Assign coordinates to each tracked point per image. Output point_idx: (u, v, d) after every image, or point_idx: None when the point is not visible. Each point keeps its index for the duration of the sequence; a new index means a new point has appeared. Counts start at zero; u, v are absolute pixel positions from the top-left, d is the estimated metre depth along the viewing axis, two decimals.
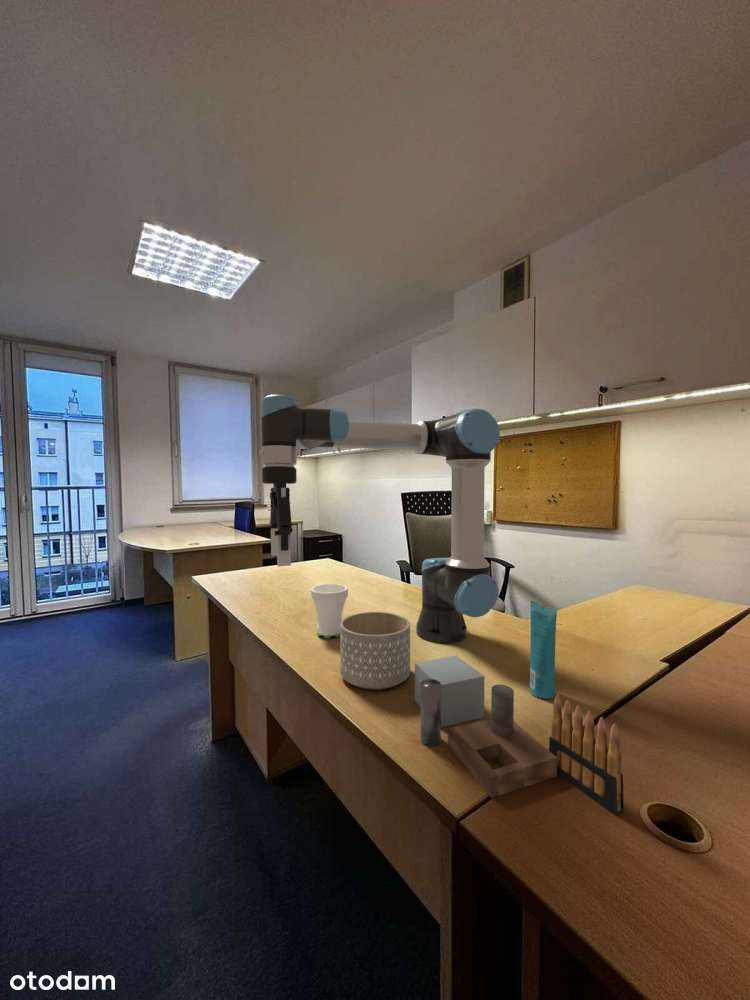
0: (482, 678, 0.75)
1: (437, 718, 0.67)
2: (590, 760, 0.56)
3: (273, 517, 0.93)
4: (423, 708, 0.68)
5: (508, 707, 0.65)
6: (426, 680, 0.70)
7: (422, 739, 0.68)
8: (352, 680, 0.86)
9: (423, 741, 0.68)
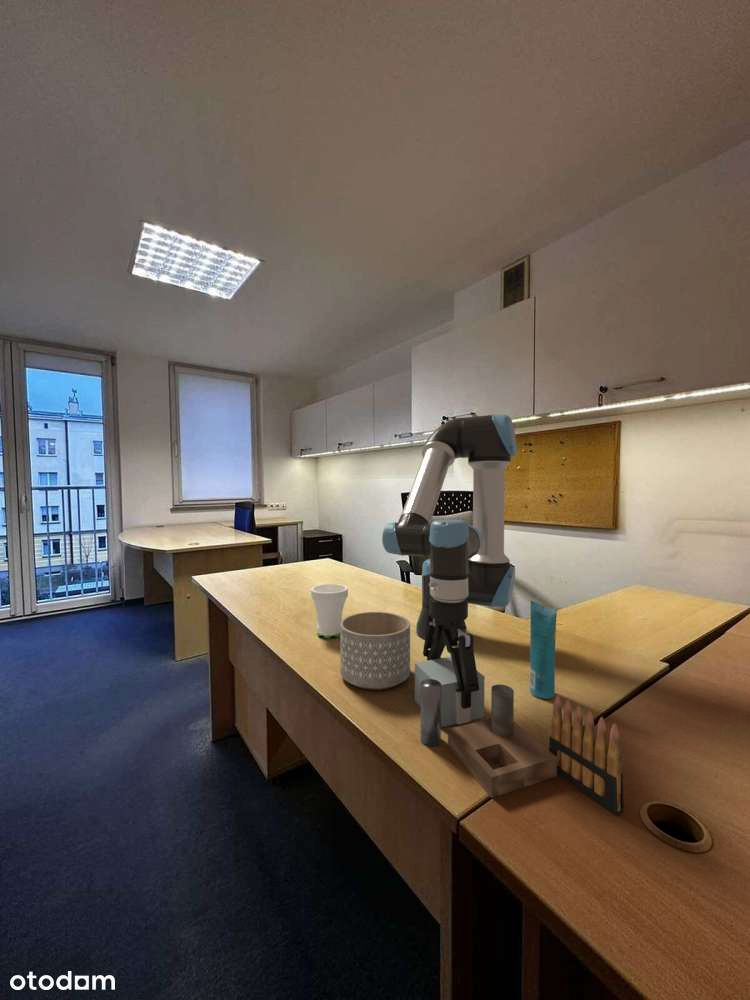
0: (482, 678, 0.75)
1: (437, 718, 0.67)
2: (590, 760, 0.56)
3: (434, 651, 0.82)
4: (423, 708, 0.68)
5: (508, 707, 0.65)
6: (426, 680, 0.70)
7: (422, 739, 0.68)
8: (352, 680, 0.86)
9: (423, 741, 0.68)
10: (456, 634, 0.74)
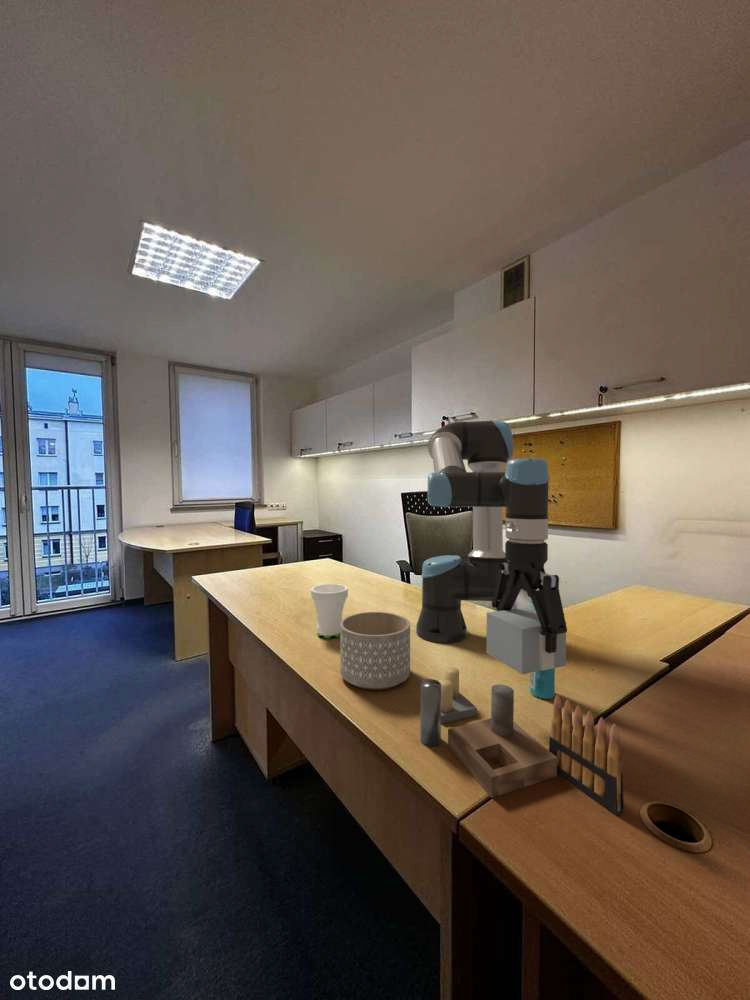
0: None
1: (437, 718, 0.67)
2: (590, 760, 0.56)
3: (507, 600, 0.78)
4: (423, 708, 0.68)
5: (508, 707, 0.65)
6: (426, 680, 0.70)
7: (422, 739, 0.68)
8: (352, 680, 0.86)
9: (423, 741, 0.68)
10: (538, 576, 0.70)
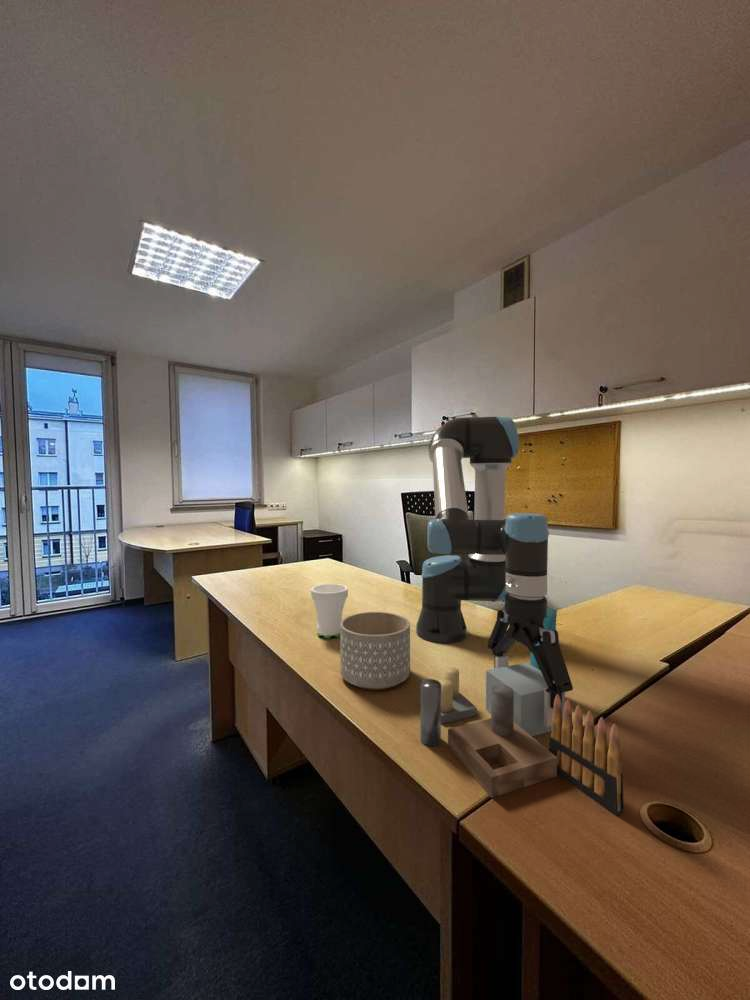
0: None
1: (437, 718, 0.67)
2: (590, 760, 0.56)
3: (503, 646, 0.79)
4: (423, 708, 0.68)
5: (508, 707, 0.65)
6: (426, 680, 0.70)
7: (422, 739, 0.68)
8: (352, 680, 0.86)
9: (423, 741, 0.68)
10: (538, 632, 0.71)
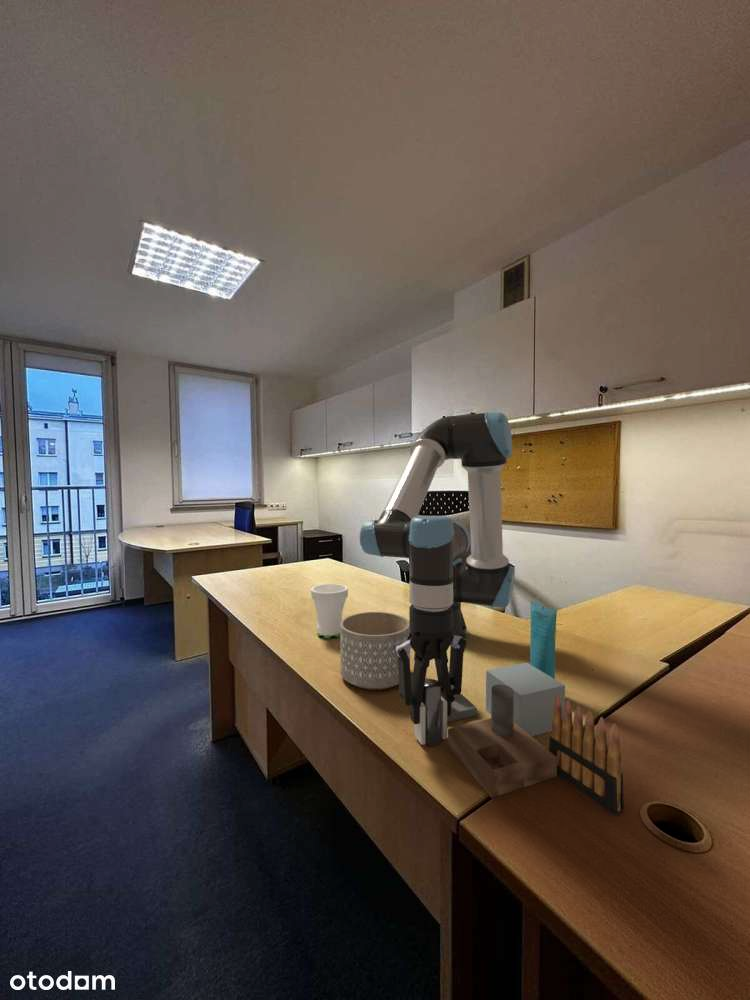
0: (563, 687, 0.72)
1: (437, 718, 0.67)
2: (590, 760, 0.56)
3: (437, 674, 0.70)
4: None
5: (508, 707, 0.65)
6: (426, 679, 0.70)
7: None
8: (352, 680, 0.86)
9: None
10: None
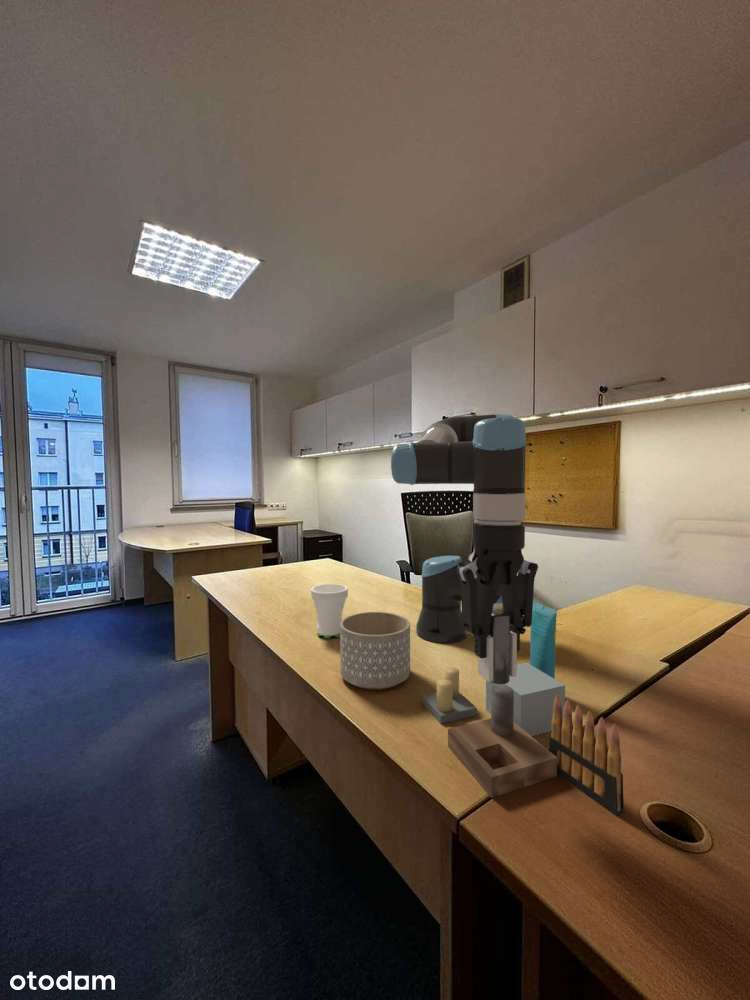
0: (563, 687, 0.72)
1: (507, 652, 0.58)
2: (590, 760, 0.56)
3: (503, 605, 0.61)
4: None
5: (508, 707, 0.65)
6: None
7: None
8: (352, 680, 0.86)
9: None
10: None
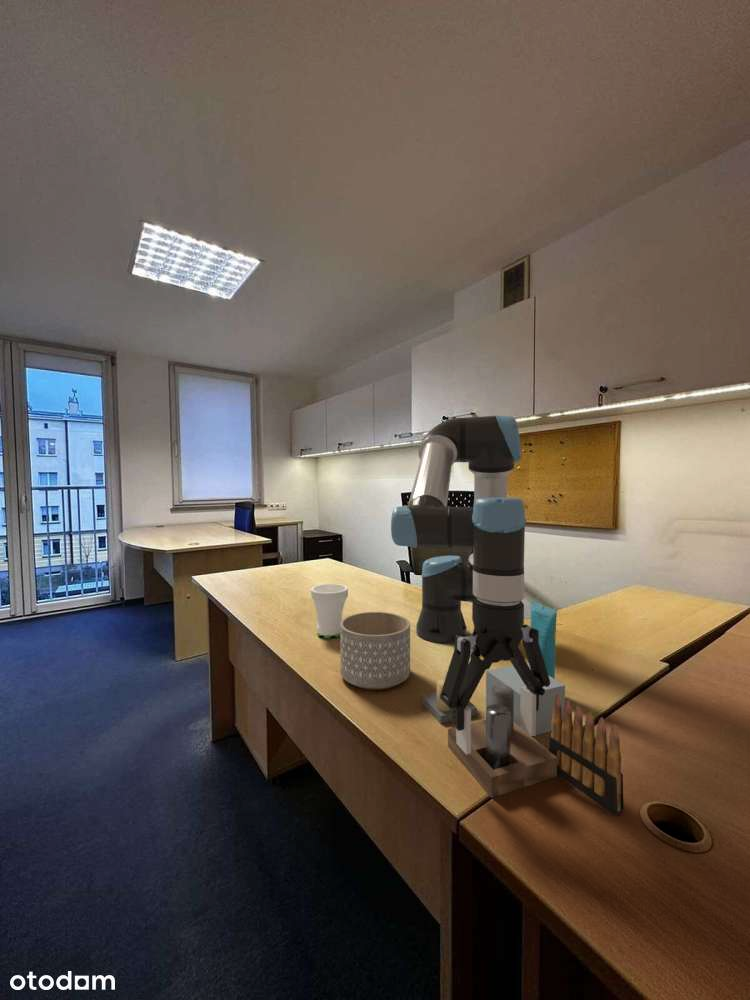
0: (563, 687, 0.72)
1: (507, 751, 0.59)
2: (590, 760, 0.56)
3: (516, 670, 0.62)
4: (491, 739, 0.59)
5: (508, 707, 0.65)
6: (492, 705, 0.62)
7: None
8: (352, 680, 0.86)
9: None
10: None
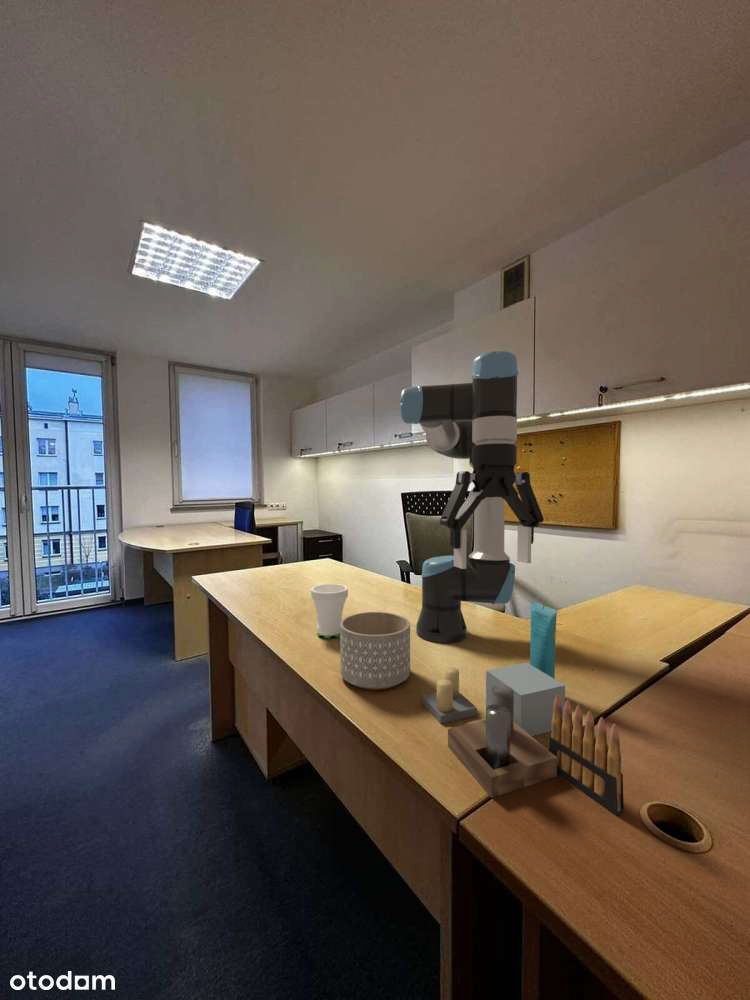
0: (563, 687, 0.72)
1: (507, 751, 0.59)
2: (590, 760, 0.56)
3: (513, 511, 0.72)
4: (490, 739, 0.59)
5: (508, 707, 0.65)
6: (491, 705, 0.62)
7: None
8: (352, 680, 0.86)
9: None
10: None
